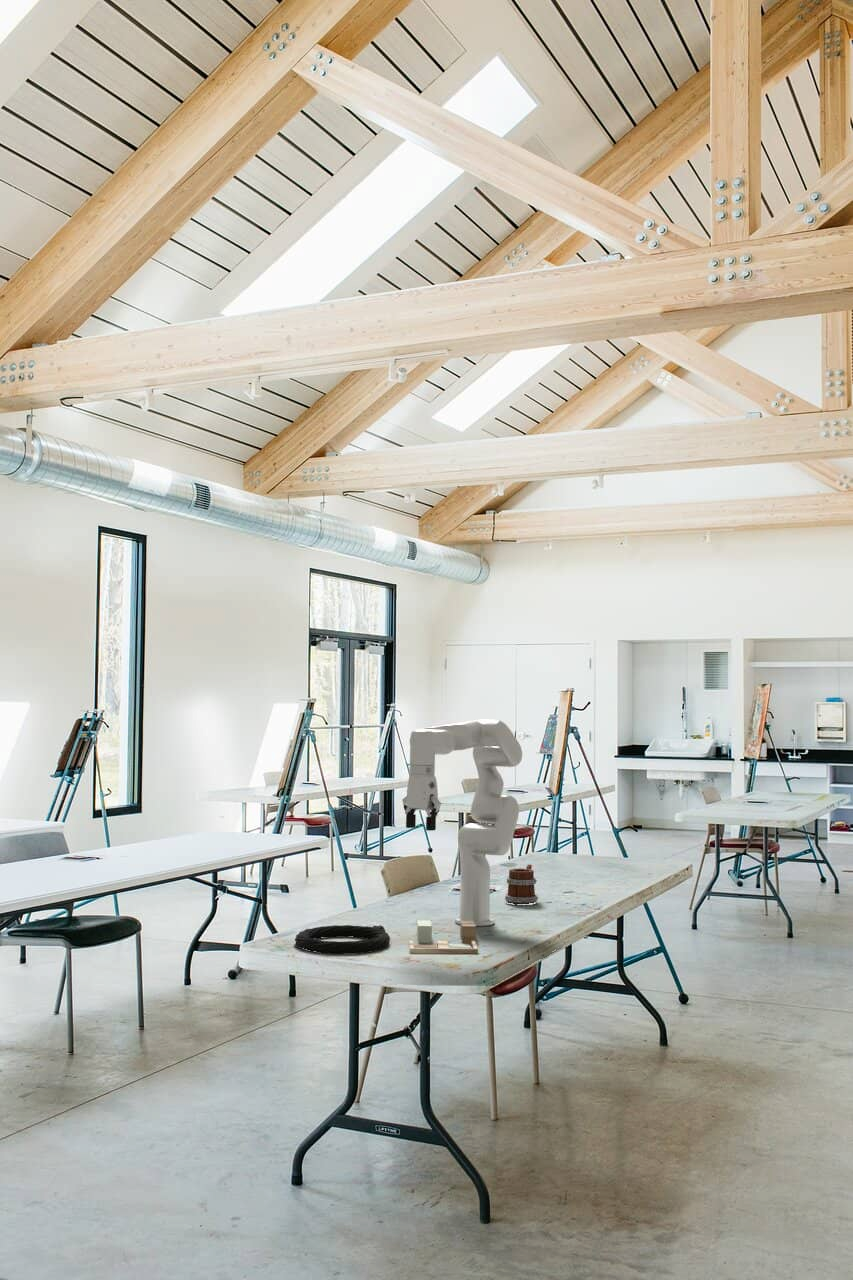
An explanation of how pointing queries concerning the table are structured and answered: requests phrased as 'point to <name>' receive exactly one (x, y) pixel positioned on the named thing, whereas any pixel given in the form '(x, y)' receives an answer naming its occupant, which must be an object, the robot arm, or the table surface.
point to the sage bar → (424, 931)
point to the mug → (521, 886)
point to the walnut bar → (467, 931)
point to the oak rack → (442, 947)
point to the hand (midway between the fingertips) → (420, 829)
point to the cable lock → (374, 933)
